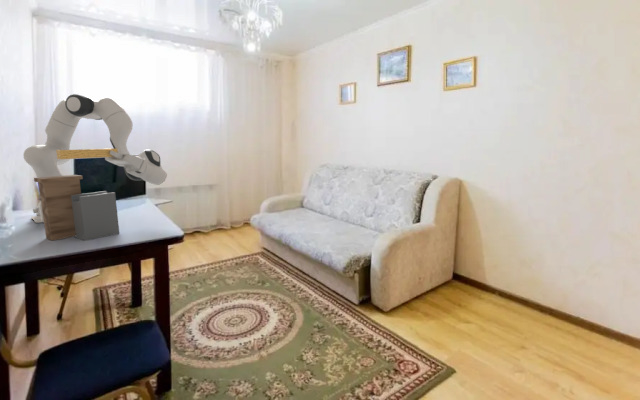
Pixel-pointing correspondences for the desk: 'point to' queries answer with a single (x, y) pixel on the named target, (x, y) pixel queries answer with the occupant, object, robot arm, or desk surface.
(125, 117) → the robot arm
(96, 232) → the cradle
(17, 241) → the desk surface
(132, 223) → the desk surface
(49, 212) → the stand
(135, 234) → the desk surface
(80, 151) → the wooden block
